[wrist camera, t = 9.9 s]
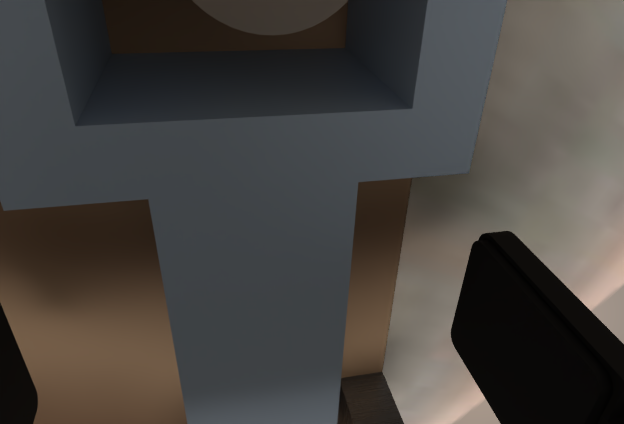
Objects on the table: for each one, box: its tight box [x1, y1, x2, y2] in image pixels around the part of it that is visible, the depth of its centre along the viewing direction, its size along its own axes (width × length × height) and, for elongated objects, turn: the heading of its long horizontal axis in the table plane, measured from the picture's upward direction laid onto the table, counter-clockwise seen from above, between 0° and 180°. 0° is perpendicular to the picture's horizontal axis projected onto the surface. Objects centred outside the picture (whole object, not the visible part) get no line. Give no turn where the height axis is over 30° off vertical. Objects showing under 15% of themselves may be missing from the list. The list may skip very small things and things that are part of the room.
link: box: [0, 0, 507, 424], centre depth 10 cm, size 18×7×4 cm, turn 178°
